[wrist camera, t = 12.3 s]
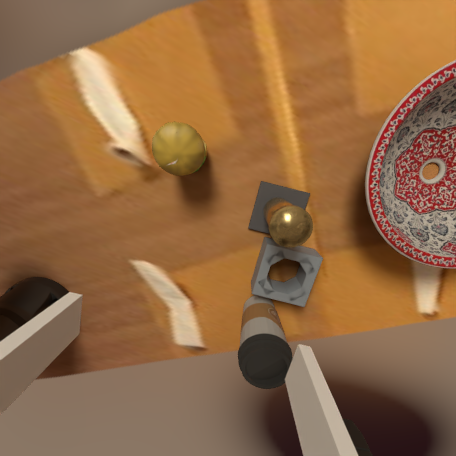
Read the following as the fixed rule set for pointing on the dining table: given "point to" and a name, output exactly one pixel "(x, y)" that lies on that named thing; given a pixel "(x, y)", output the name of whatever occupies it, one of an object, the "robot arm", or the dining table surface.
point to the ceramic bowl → (417, 173)
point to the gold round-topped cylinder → (287, 222)
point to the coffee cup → (263, 345)
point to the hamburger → (179, 149)
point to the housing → (293, 288)
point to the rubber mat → (270, 192)
